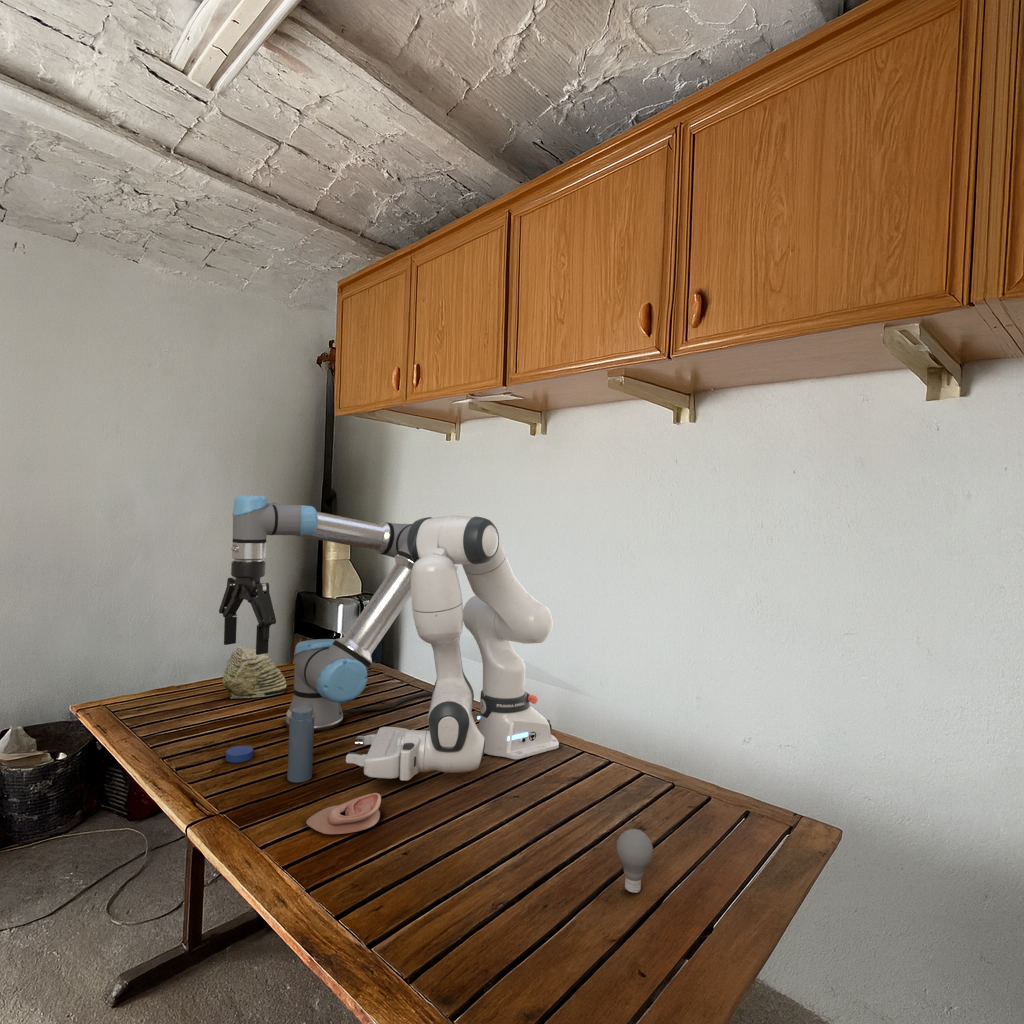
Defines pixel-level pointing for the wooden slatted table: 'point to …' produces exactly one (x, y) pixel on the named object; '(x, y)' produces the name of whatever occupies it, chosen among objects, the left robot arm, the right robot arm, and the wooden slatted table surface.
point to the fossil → (252, 675)
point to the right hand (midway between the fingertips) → (351, 749)
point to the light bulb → (634, 857)
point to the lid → (239, 754)
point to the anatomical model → (347, 816)
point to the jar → (300, 744)
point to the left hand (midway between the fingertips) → (245, 648)
